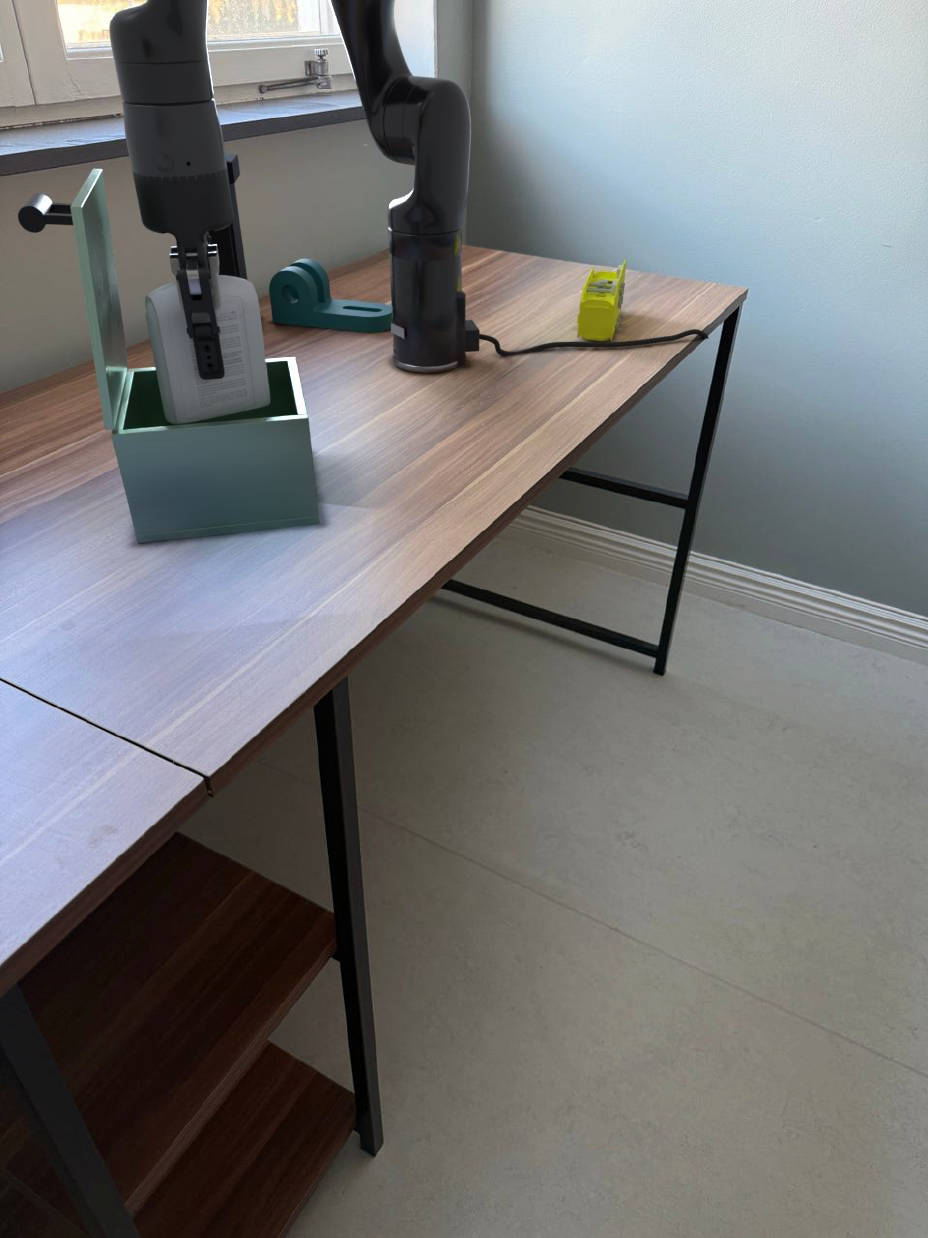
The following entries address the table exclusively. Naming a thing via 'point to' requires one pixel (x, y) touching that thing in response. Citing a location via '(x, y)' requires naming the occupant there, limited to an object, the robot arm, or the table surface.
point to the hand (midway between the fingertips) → (212, 365)
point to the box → (216, 462)
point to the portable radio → (231, 231)
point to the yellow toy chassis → (601, 304)
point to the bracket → (321, 302)
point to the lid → (92, 280)
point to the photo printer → (239, 346)
